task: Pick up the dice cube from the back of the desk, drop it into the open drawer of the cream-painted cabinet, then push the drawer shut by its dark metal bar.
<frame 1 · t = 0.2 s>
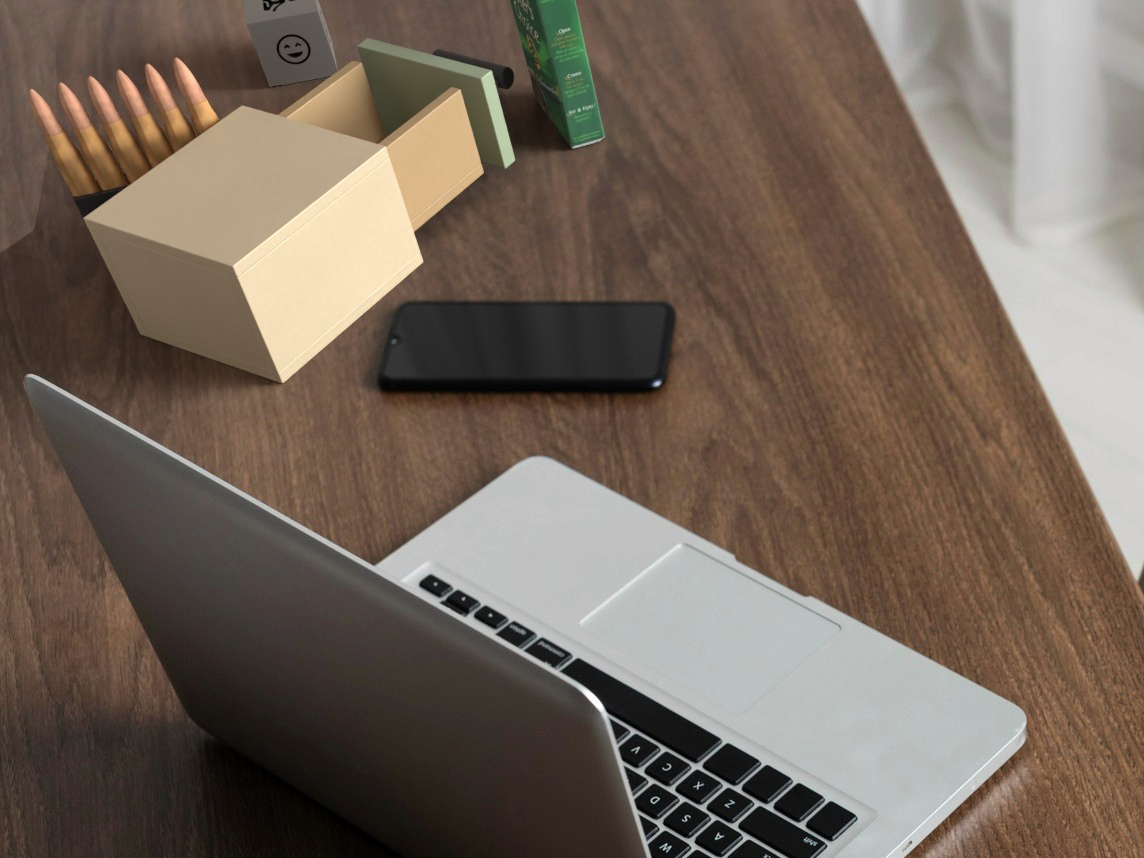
drawer: (404, 129, 115), point 4 cm above the table, slide at 10.0 cm
dice cube: (302, 67, 129), on the table
coffee box: (569, 121, 124), on the table
cabinet: (284, 297, 110), on the table
ammunition clip: (191, 244, 114), on the table, touching cabinet
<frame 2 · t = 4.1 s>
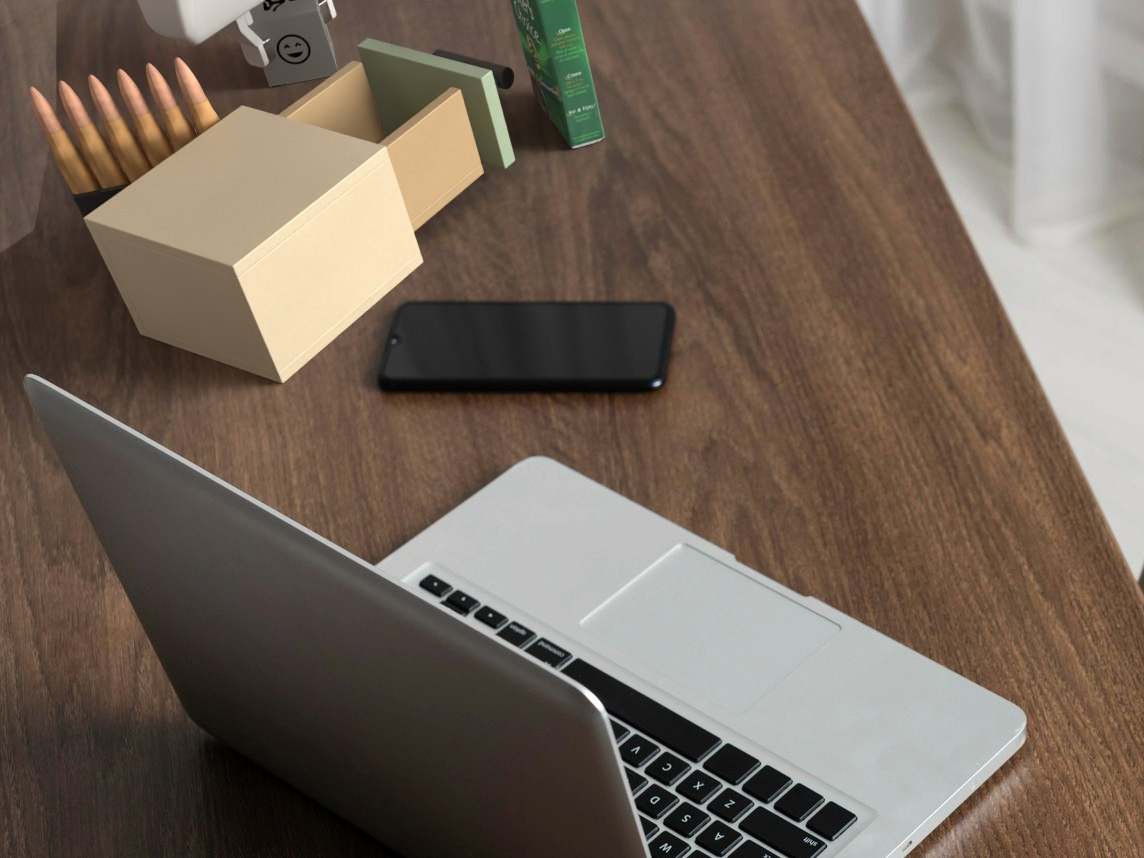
hand: (293, 41, 128), 2 cm above the table, tool pointing down, fingers closed on dice cube, 5 cm apart
dice cube: (302, 67, 129), on the table, touching gripper
everything else where it was.
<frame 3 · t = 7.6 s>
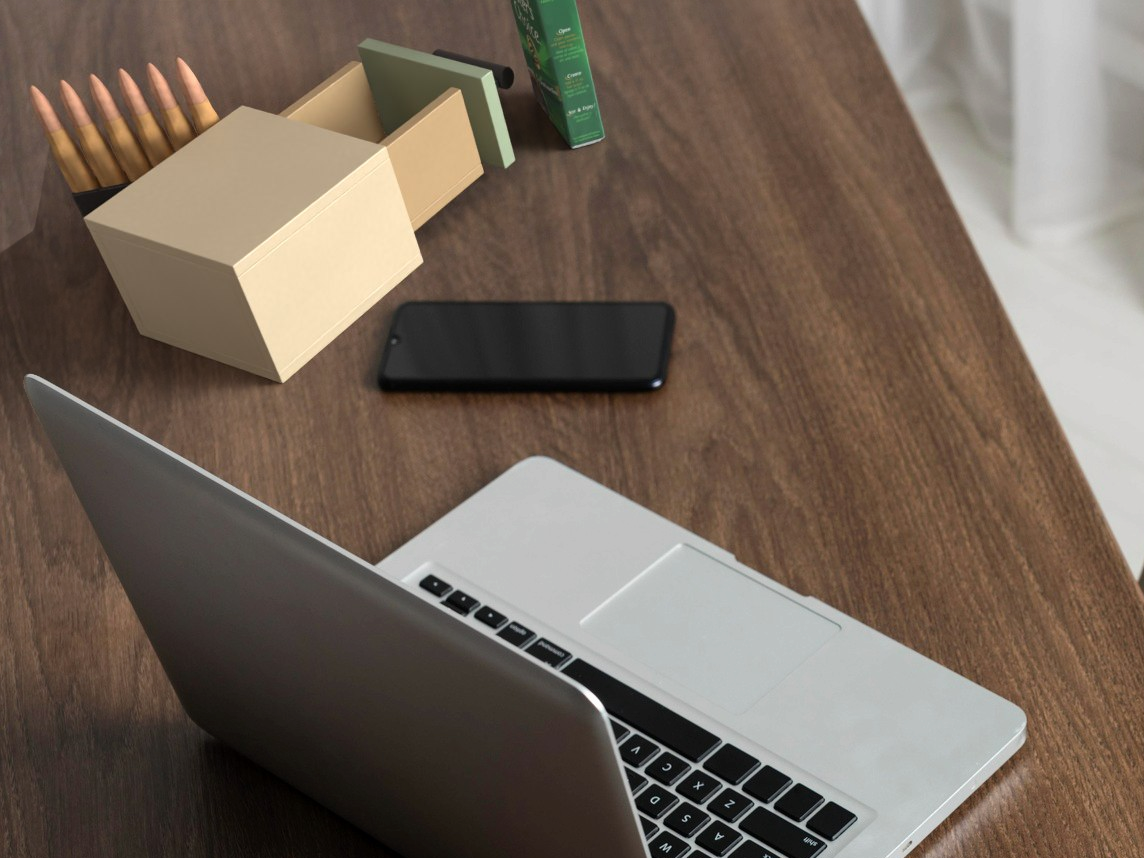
when the fingers open (10 cm above the table, at t = 11.3 s): dice cube stays where it is, point 8 cm above the table.
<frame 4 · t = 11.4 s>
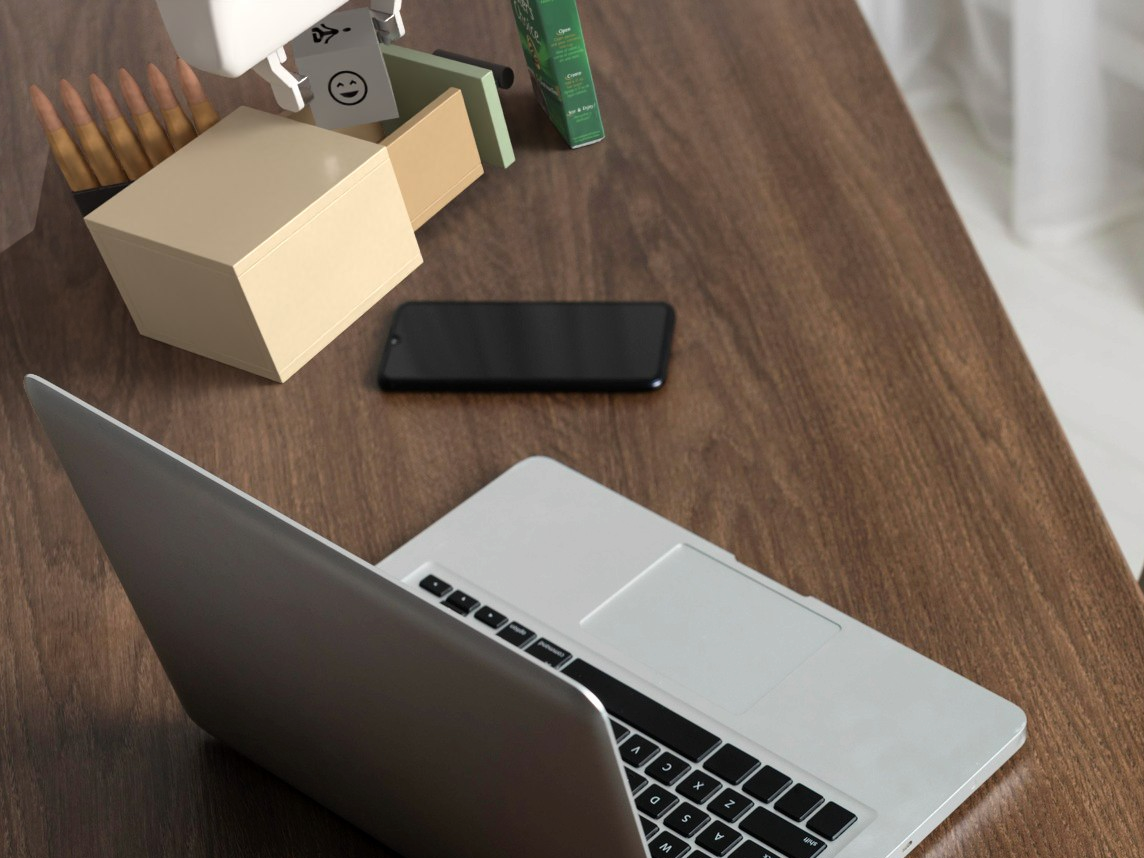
hand: (344, 71, 109), 10 cm above the table, tool pointing down, fingers open, 7 cm apart
dice cube: (355, 108, 111), point 8 cm above the table
ammunition clip: (188, 241, 114), on the table, touching cabinet
everything else where it was.
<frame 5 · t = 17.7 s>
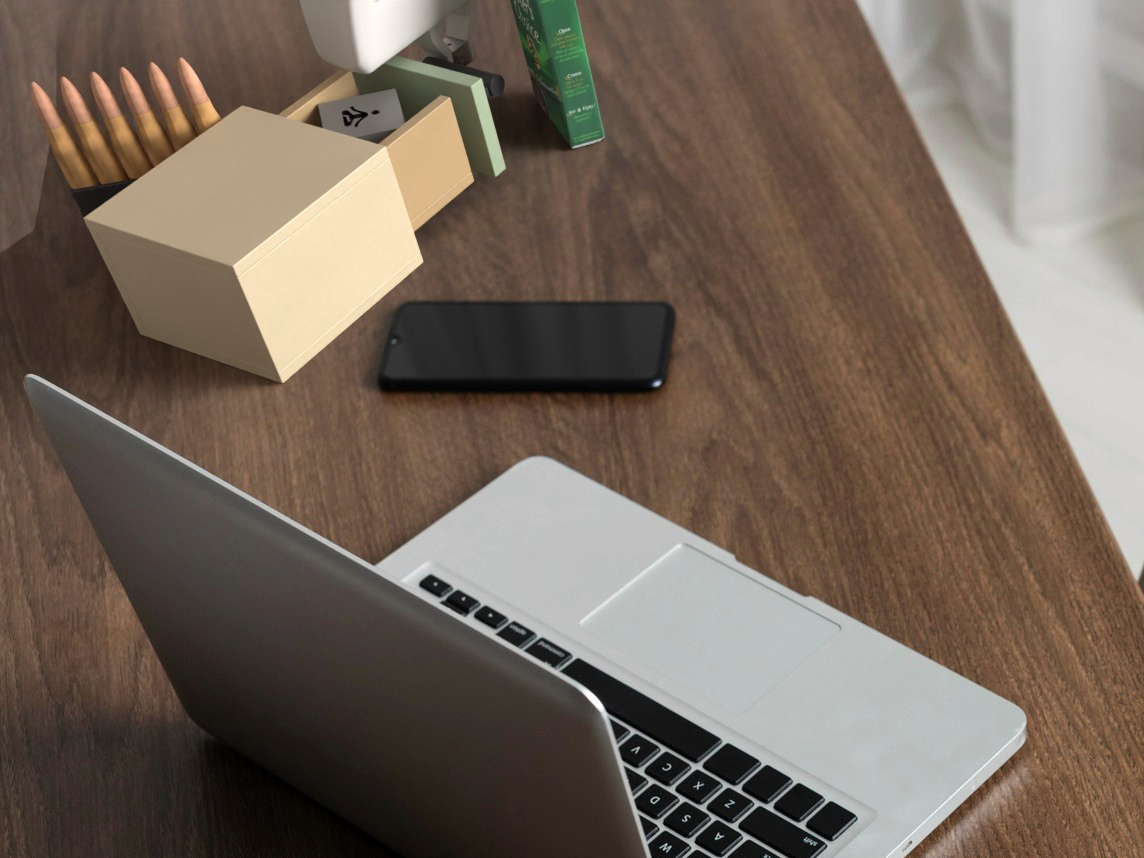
hand: (455, 67, 122), 4 cm above the table, tool pointing down, fingers closed
drawer: (393, 137, 115), point 4 cm above the table, slide at 8.9 cm, touching dice cube, gripper
dice cube: (384, 184, 115), point 2 cm above the table, touching drawer
everything else where it was.
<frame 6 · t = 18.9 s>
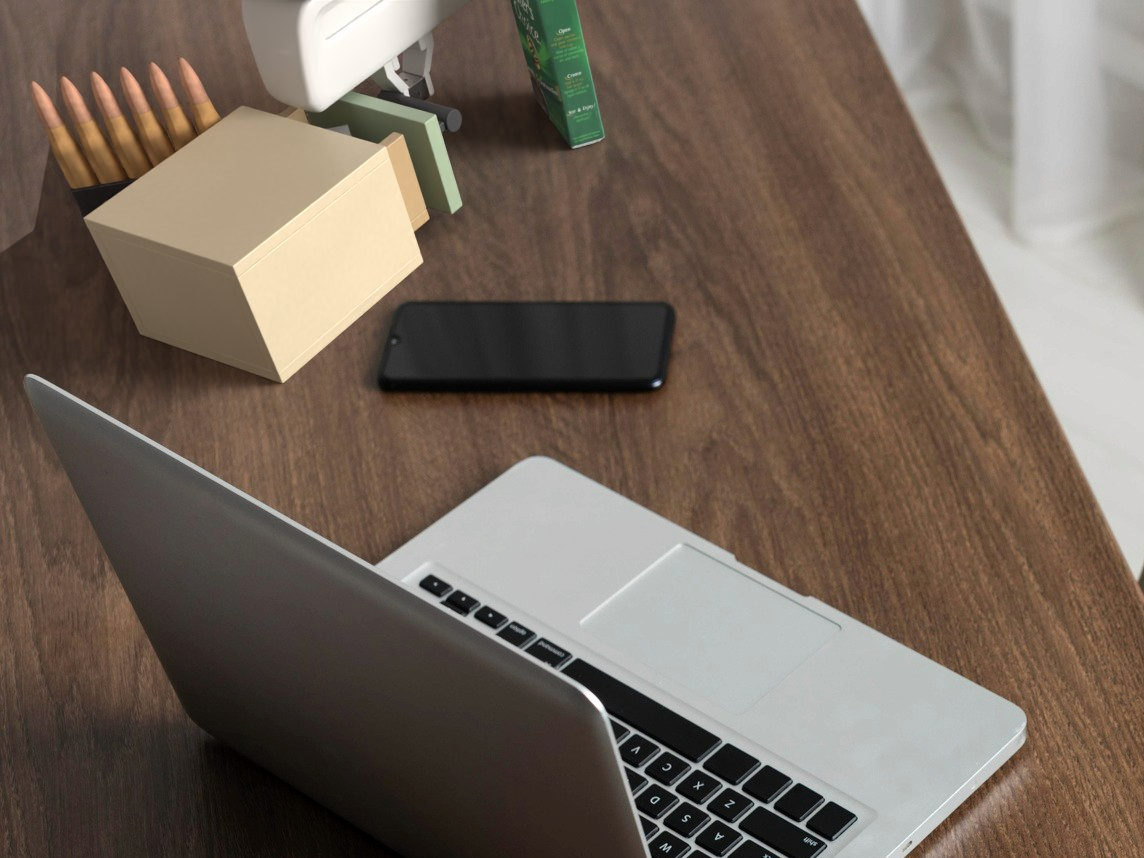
hand: (412, 103, 119), 3 cm above the table, tool pointing down, fingers closed
drawer: (346, 174, 112), point 4 cm above the table, slide at 4.1 cm, touching dice cube, gripper
dice cube: (337, 222, 113), point 2 cm above the table, touching drawer
everything else where it was.
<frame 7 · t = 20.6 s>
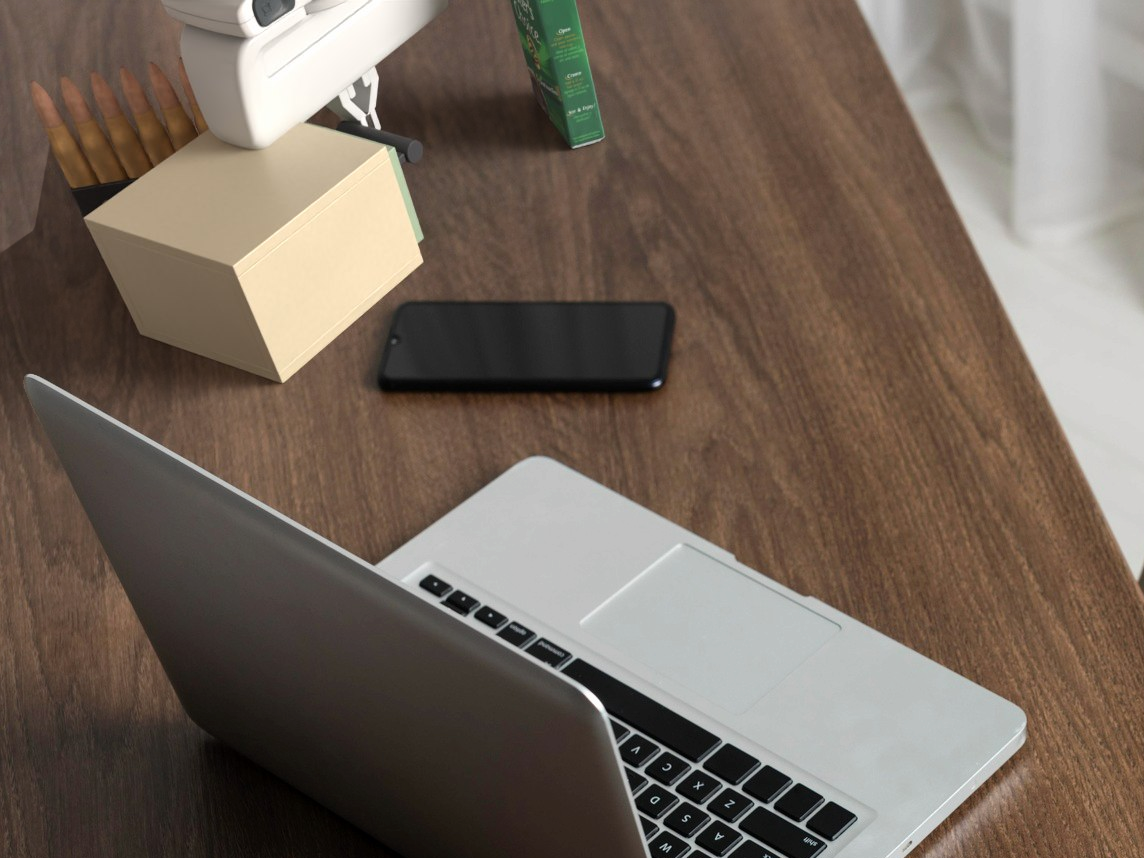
hand: (364, 135, 116), 4 cm above the table, tool pointing down, fingers closed, pressing on drawer
drawer: (303, 208, 109), point 4 cm above the table, slide at 0.0 cm, touching cabinet, dice cube, gripper
dice cube: (294, 257, 110), point 2 cm above the table, touching drawer
everything else where it was.
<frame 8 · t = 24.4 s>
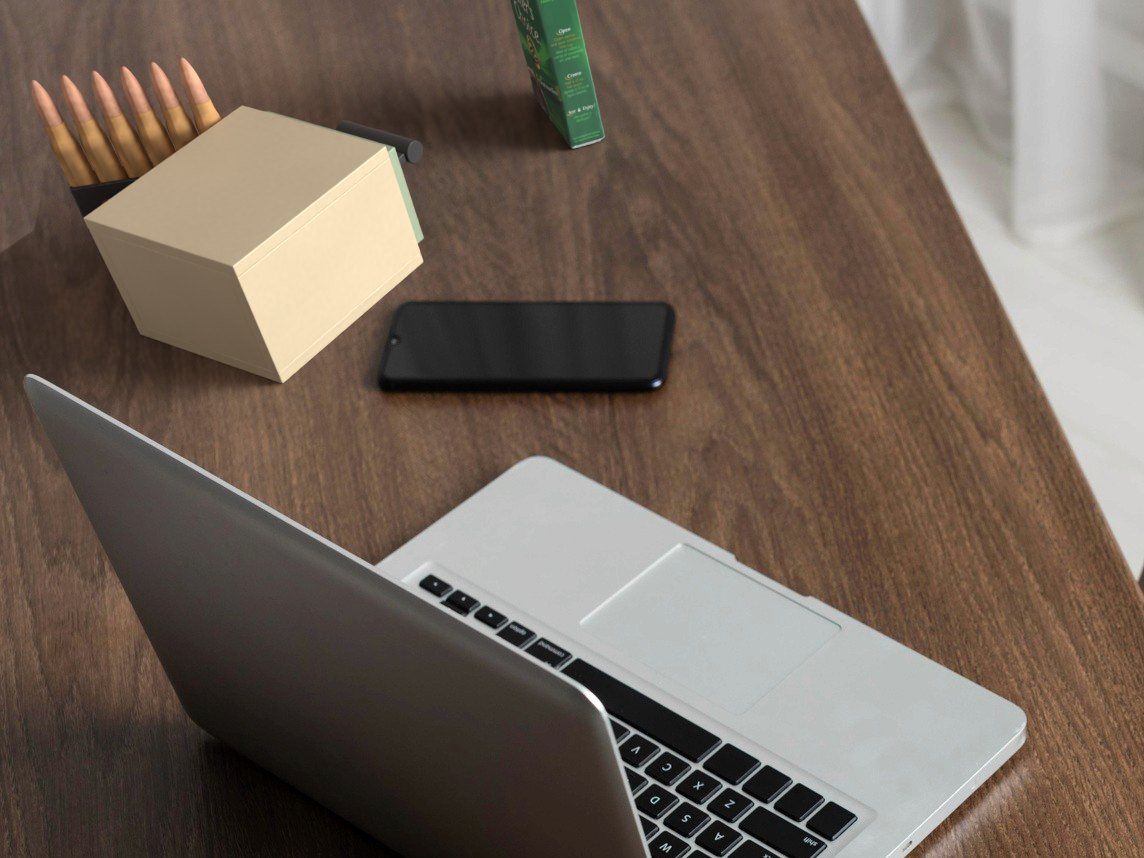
drawer: (303, 208, 109), point 4 cm above the table, slide at 0.0 cm, touching cabinet, dice cube
everything else where it was.
at the end: dice cube inside the target area in the cabinet (1.9 cm from its centre), point 1.8 cm above the cabinet's base; drawer slide at 0.0 cm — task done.
